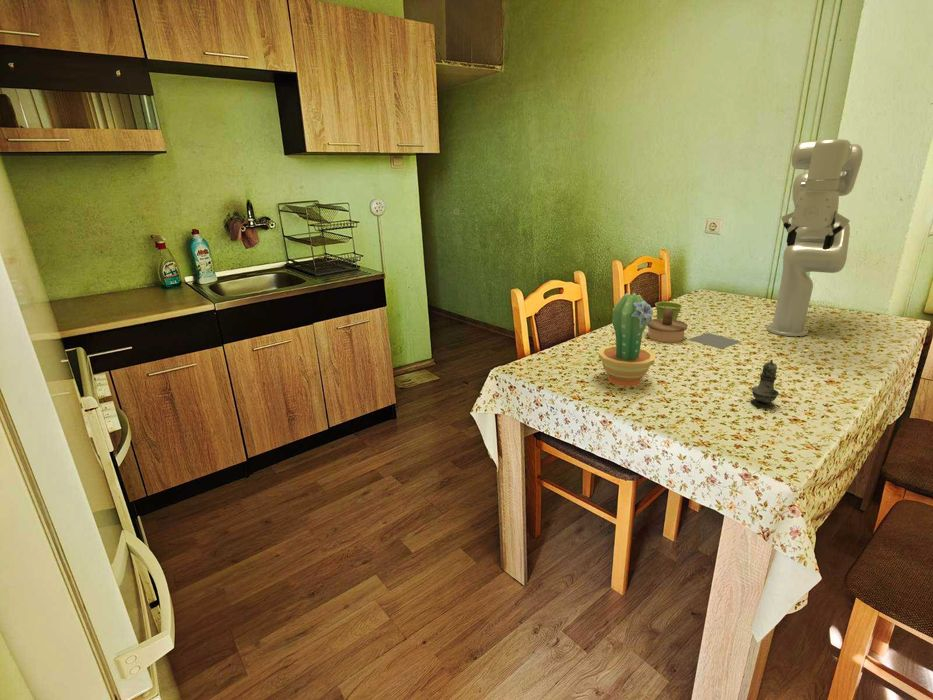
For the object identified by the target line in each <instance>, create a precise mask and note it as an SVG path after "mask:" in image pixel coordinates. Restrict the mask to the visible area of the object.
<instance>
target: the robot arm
mask: <svg viewBox="0 0 933 700" xmlns="http://www.w3.org/2000/svg"><path fill="white" fill-rule="evenodd" d="M863 152H864V151H863V149H862V147H861V145H860V144H856V143H851V142H850V141H849V140H848V139H840V138H835V139H834V138H833V139H832V138H831V139H820V140H819V139H817V140H804V141H800V142H798V143H796V144H795V146H794V148H793V151H792V154H791V166H792V168H793V169H795V170H806V171H805V172H801V173H800V174H798V175H797V176H796V177H795V178H794V181H793V185H792V202H793V205H794V210H793V212H790V213H788V214H785V215H783V216H781V221H782V224H783V227H784V228H785V230H786V232H787V238H786V247H785V249H784V251H783V256H782V260H783V261H782V272H781V280H780V285H779V289H778V296H777V300H776V305H775V309H774V315H773V320H772V323H771V324H768V325H766V328H765V329H766V331H768V332H770V333H772V334H775V335H779V336H784V337H793V336H794V337H797V336H800V337H805V335H806V336H807V335H808V334H809V330H808V329H807V328H805V324H806V323H808V319H807V314H808V311H809V307H810V306H809V305H810V302H811V298H812V292H813V288H814V283H813V280H812V278H811V277H810V275H809V274H808V272H809V273H811V272H813V273H827V274H834V273H835V274H836V273H839V272H841V271H842V270H843V269H844V268H845V265H846V262H847V255H848V251H849V249H848V248H849V241H850V240H849V239H850V233H851V232H850V231H851V227H850V221H851V220H850V219H849V218H847V217H845V216H843V215H842V214H840V213H838V212H839V205H840V204H839V201H840V200H839V199H840V197H844V196H847V195H849V194H850V193H852V191H853V189H854V186H855V184H856V181H857V177H858V174H859V172H860V168H861V165H862V161H863V154H864V153H863ZM790 219H791V220H790Z"/></svg>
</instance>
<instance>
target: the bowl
mask: <svg viewBox="0 0 933 700" xmlns="http://www.w3.org/2000/svg"><path fill="white" fill-rule="evenodd" d="M647 330H648V331H647V332H648V333H647V336H648V339H650V340H654V341H655V342H656V341H657V342H660V343H679V342H681V341H684V336H685V330H684V331H680V332H665V331H658V330H654V329H651V328H649V327H648V329H647Z"/></svg>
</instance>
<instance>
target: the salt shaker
mask: <svg viewBox="0 0 933 700" xmlns="http://www.w3.org/2000/svg"><path fill="white" fill-rule="evenodd" d="M773 361H774V360H773V359H770V360H769V362H766V363H764V364H763V368H762V371H761V374H760V375H759V378H760V380H759V383H758V386H756V385H755V386H753V387H752V388H751V391H752V396H753V399H750V404H751V405H752V406H754V407H756V408H760V409H764V410H766V409H768V410H769V409H774V408H775V405H776V404H775V403H774V401H775V400H776V399H777V398H778V397H777V396H779V395H780V393H779V391H778V390H777V389H775V388H774V386H775V381H776V380H777V377H776V374H777V369H778V366H777V364H776V363H774V362H773Z"/></svg>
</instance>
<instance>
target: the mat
mask: <svg viewBox="0 0 933 700" xmlns="http://www.w3.org/2000/svg"><path fill="white" fill-rule="evenodd" d="M687 340H688V341H691V342H695V343H699V344H702V345H705V346H709V347H711V348H716V349H720V350H723V349H725V348H729V347H731V346H734V345H737V344H739V343H742V341H741V340H737V339H733V338H729V337H726V336H721V335H719V334H718V335H717V334H715V333H714V334H713V333H711V332H707V333H703V334H701V335H697V336H694V337H691V338H688V339H687Z"/></svg>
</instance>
